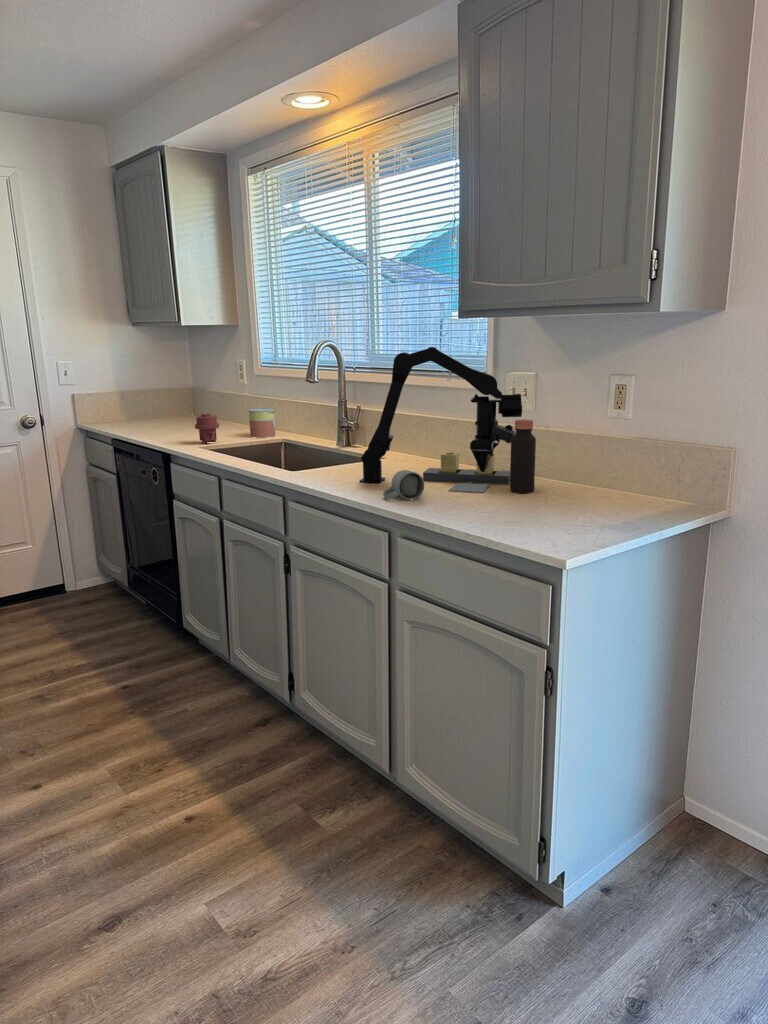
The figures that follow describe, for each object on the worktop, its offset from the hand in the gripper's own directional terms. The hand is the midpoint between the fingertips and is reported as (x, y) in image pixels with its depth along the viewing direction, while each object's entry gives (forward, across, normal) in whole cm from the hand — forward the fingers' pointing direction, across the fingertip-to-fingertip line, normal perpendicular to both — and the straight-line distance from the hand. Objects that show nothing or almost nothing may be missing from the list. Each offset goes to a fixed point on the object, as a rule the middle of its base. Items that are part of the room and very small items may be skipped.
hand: (485, 469), depth 214 cm
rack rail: (+4, 0, +6) cm, 7 cm away
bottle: (+4, -12, -12) cm, 18 cm away
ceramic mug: (+4, -27, +18) cm, 33 cm away
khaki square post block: (+4, 0, +11) cm, 12 cm away
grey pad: (+4, -12, +2) cm, 13 cm away
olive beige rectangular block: (+4, 0, 0) cm, 4 cm away
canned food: (+4, +75, +113) cm, 136 cm away
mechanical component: (+4, +52, +127) cm, 138 cm away
